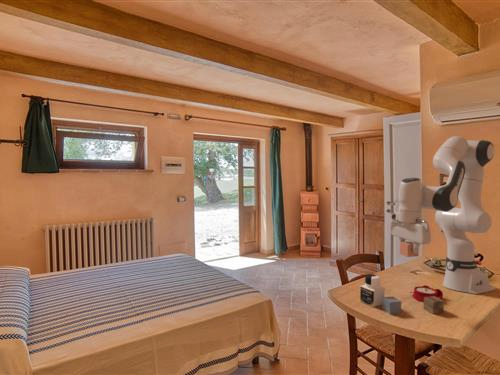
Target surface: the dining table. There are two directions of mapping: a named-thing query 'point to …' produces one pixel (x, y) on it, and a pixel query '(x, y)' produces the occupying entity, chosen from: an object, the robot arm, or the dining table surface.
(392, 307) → the slate-grey block
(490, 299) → the dining table surface
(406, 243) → the terracotta block
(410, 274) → the dining table surface
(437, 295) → the alarm clock
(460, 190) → the robot arm
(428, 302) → the walnut block
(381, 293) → the medicine bottle
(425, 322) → the dining table surface
